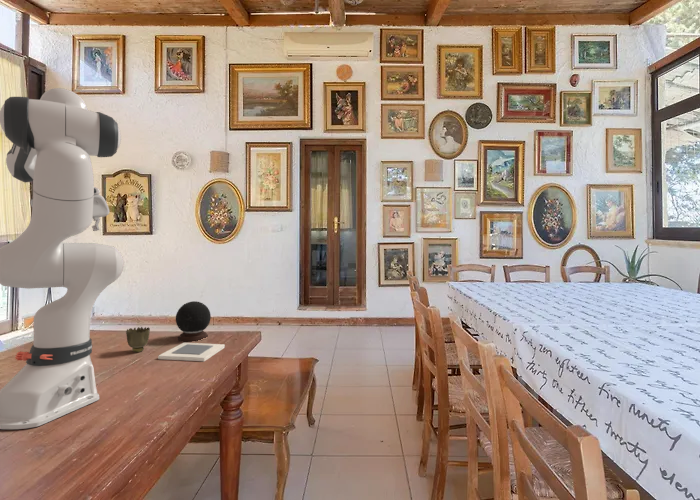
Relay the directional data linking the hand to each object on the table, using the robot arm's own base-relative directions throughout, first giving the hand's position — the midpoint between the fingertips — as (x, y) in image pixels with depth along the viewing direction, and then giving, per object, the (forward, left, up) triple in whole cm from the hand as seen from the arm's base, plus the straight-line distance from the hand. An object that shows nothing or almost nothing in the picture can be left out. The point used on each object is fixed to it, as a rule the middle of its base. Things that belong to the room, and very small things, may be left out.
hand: (80, 233), depth 125 cm
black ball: (+27, -26, -42) cm, 56 cm away
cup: (+7, -16, -42) cm, 45 cm away
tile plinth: (+8, -36, -42) cm, 56 cm away
